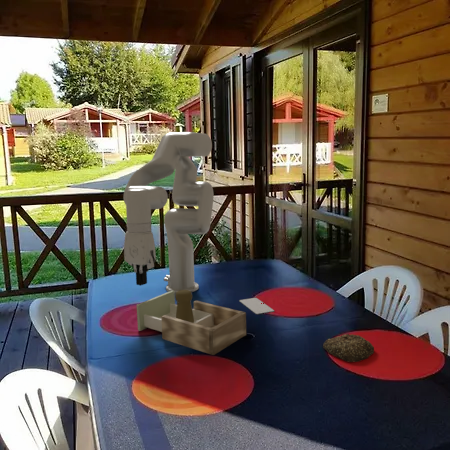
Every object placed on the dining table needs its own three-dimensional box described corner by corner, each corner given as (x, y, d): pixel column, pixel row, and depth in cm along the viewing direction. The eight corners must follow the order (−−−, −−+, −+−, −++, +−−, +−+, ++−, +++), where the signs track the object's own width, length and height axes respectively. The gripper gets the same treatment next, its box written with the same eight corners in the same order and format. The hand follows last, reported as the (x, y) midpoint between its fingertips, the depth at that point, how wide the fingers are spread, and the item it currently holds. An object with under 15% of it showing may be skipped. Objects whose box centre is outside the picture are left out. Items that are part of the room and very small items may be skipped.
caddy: (162, 338, 140) (161, 316, 139) (197, 321, 153) (196, 300, 151) (213, 355, 129) (212, 331, 128) (246, 334, 142) (245, 312, 140)
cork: (197, 322, 147) (196, 288, 145) (190, 330, 141) (189, 294, 139) (179, 320, 149) (178, 286, 147) (171, 328, 143) (170, 293, 141)
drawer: (138, 330, 146) (136, 304, 144) (173, 313, 159) (172, 290, 157) (183, 344, 135) (182, 317, 134) (217, 325, 148) (216, 300, 146)
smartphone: (256, 314, 157) (238, 300, 171) (256, 315, 157) (238, 301, 171) (275, 310, 159) (255, 297, 173) (275, 312, 160) (255, 298, 173)
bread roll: (347, 366, 122) (347, 348, 121) (316, 348, 132) (317, 331, 132) (384, 355, 127) (385, 338, 126) (352, 338, 138) (352, 322, 137)
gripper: (114, 227, 151) (117, 283, 154) (147, 231, 142) (150, 291, 145) (131, 224, 157) (134, 278, 160) (164, 228, 148) (166, 285, 151)
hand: (141, 284), depth 152 cm, fingers closed
